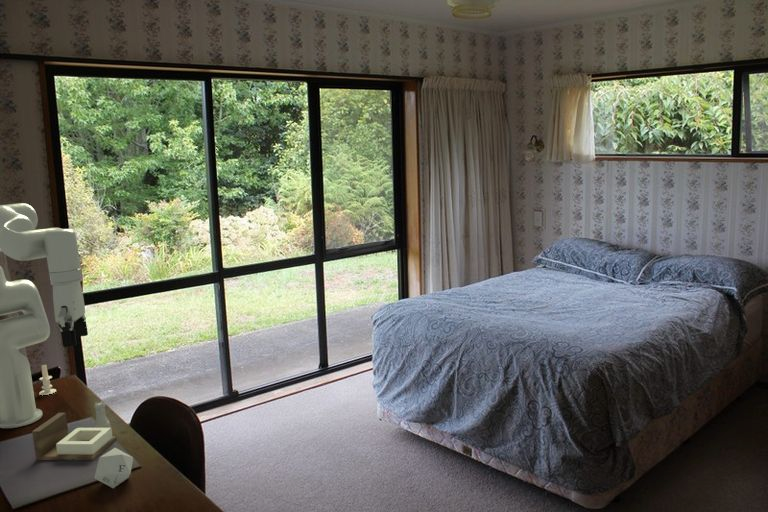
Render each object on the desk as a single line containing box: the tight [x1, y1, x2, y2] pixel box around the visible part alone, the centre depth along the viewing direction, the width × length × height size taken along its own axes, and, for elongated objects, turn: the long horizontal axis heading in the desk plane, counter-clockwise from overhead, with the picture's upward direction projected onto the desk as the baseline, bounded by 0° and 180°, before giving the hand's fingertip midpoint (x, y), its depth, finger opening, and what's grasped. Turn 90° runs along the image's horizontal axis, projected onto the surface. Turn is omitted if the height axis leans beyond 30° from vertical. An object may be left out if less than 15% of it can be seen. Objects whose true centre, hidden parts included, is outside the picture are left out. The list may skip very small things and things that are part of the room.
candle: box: [38, 364, 57, 397], centre depth 221 cm, size 5×5×10 cm
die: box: [94, 447, 134, 489], centre depth 159 cm, size 8×9×10 cm
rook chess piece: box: [93, 400, 112, 428], centre depth 190 cm, size 4×4×8 cm
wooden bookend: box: [31, 412, 118, 461], centre depth 178 cm, size 16×12×8 cm
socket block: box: [56, 427, 114, 454], centre depth 178 cm, size 10×10×3 cm
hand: (76, 340), depth 173 cm, fingers open, 9 cm apart
